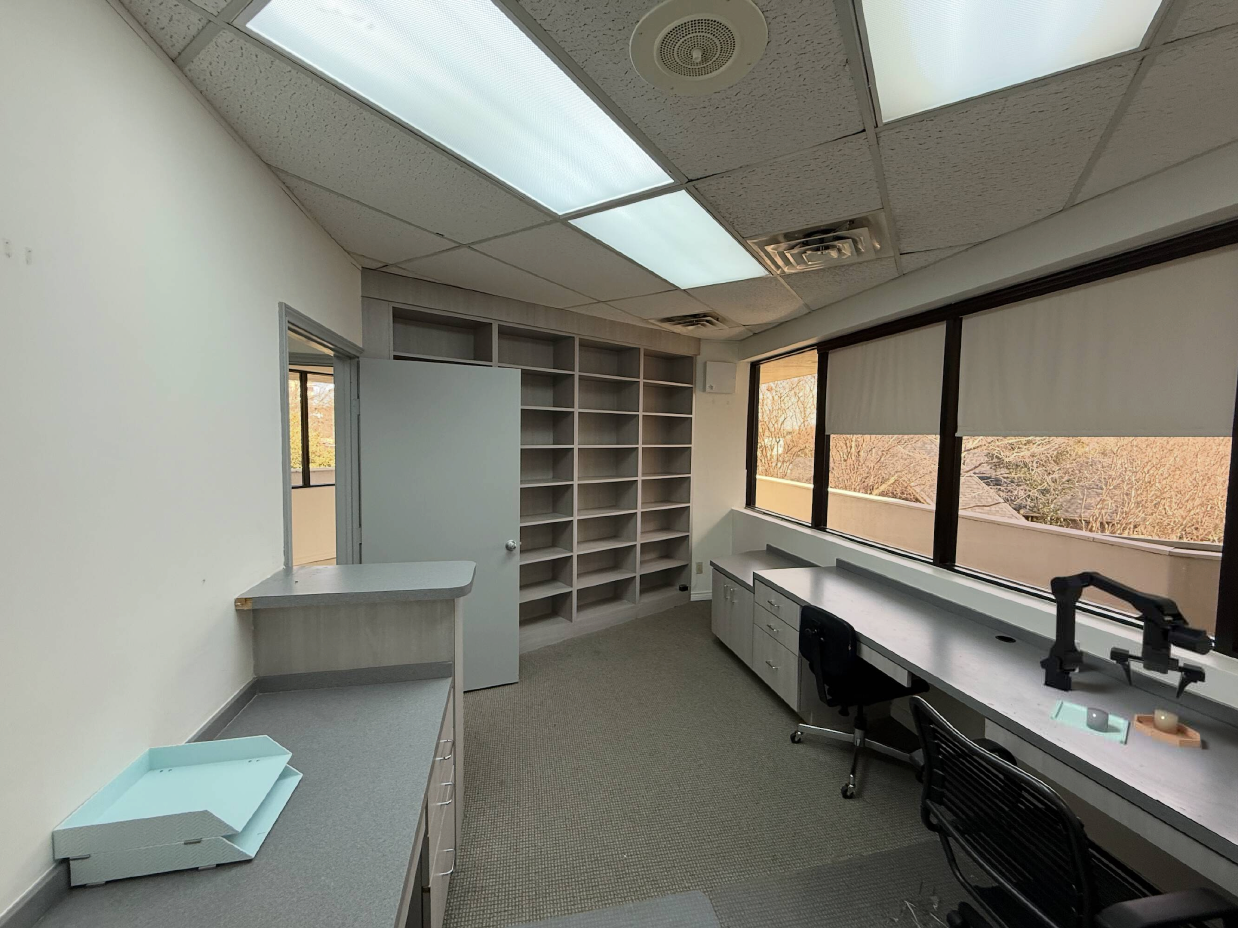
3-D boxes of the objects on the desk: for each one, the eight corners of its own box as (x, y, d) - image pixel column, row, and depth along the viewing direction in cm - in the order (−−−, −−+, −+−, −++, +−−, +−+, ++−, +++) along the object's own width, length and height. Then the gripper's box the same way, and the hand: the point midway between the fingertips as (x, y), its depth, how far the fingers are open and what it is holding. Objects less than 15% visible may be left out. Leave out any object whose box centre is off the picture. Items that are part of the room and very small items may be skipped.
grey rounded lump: (1085, 727, 145) (1086, 710, 144) (1087, 721, 148) (1088, 705, 147) (1107, 734, 141) (1108, 717, 141) (1108, 728, 144) (1109, 712, 144)
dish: (1132, 733, 143) (1133, 724, 143) (1134, 717, 151) (1135, 709, 151) (1200, 754, 133) (1200, 745, 133) (1198, 736, 142) (1199, 728, 142)
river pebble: (1153, 729, 144) (1154, 712, 144) (1154, 723, 147) (1155, 707, 147) (1177, 736, 141) (1178, 719, 141) (1177, 730, 144) (1178, 714, 144)
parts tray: (1049, 721, 149) (1049, 717, 149) (1058, 702, 160) (1058, 698, 160) (1124, 746, 137) (1124, 742, 136) (1128, 724, 148) (1128, 720, 148)
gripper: (1110, 637, 144) (1107, 688, 145) (1208, 658, 131) (1204, 715, 131) (1112, 628, 152) (1109, 676, 153) (1205, 647, 138) (1201, 700, 139)
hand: (1153, 691), depth 144 cm, fingers open, 9 cm apart
